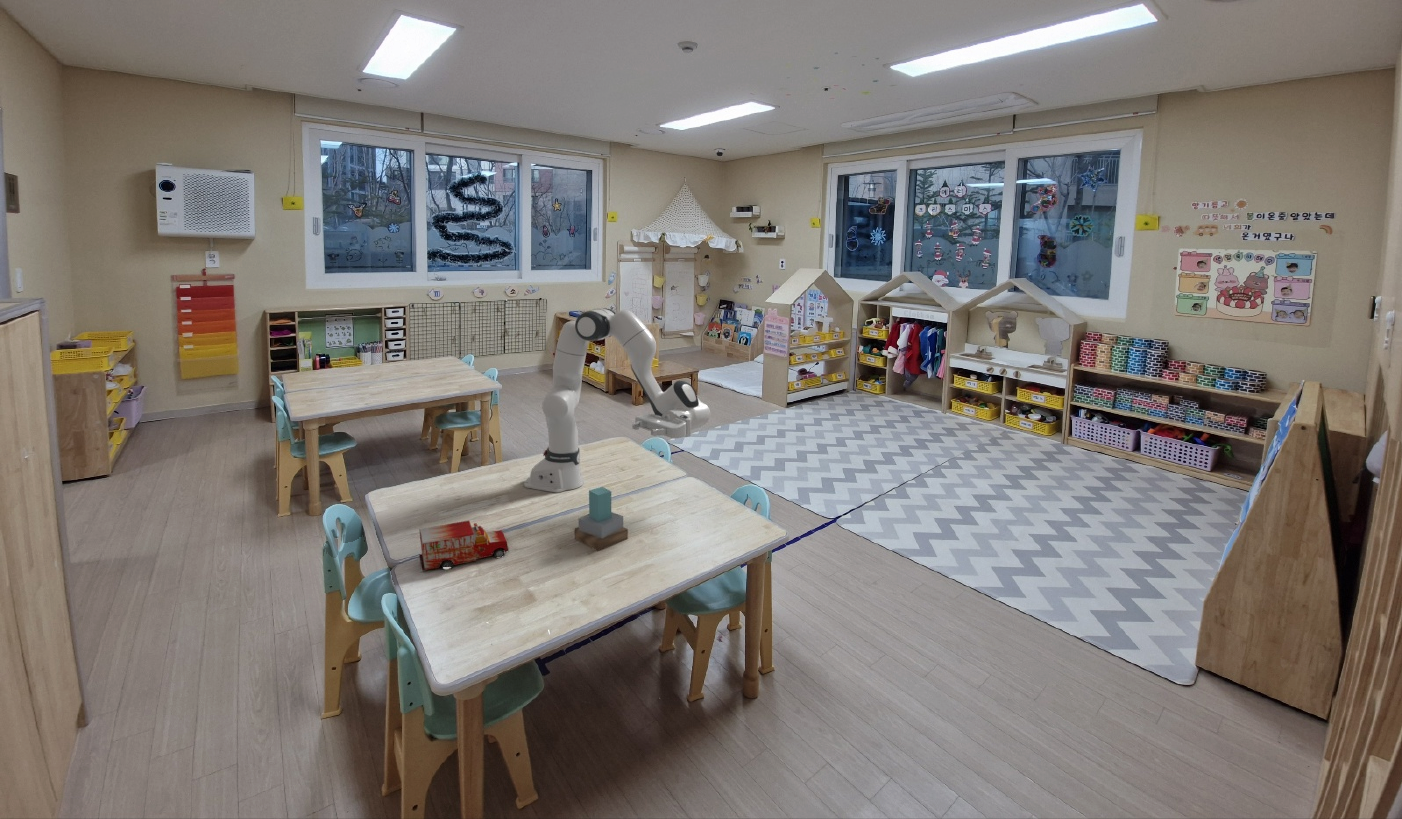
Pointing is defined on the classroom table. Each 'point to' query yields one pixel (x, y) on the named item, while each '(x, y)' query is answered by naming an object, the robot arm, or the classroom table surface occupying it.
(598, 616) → the classroom table surface
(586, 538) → the walnut slab
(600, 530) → the grey slab
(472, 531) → the red box-shaped vehicle
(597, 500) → the teal column
